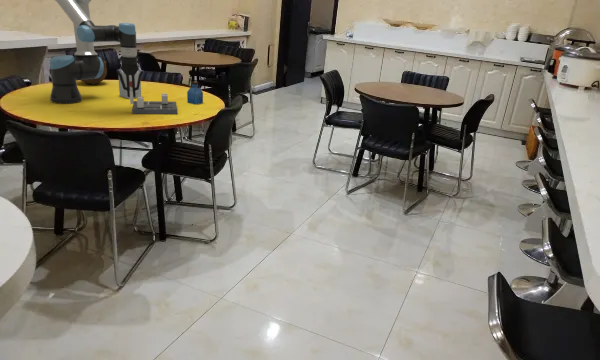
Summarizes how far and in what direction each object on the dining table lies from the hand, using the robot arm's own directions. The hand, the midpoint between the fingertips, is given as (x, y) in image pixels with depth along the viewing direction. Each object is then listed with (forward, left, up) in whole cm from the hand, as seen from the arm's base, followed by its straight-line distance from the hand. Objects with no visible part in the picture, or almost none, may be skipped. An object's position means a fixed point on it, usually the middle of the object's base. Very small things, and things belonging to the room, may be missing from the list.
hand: (132, 103), depth 234 cm
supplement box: (-3, +37, -5) cm, 38 cm away
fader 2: (+16, +10, -2) cm, 19 cm away
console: (+11, +5, -4) cm, 13 cm away
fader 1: (+4, 0, -2) cm, 5 cm away
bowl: (-28, +74, -5) cm, 79 cm away
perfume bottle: (+33, +23, -5) cm, 41 cm away
